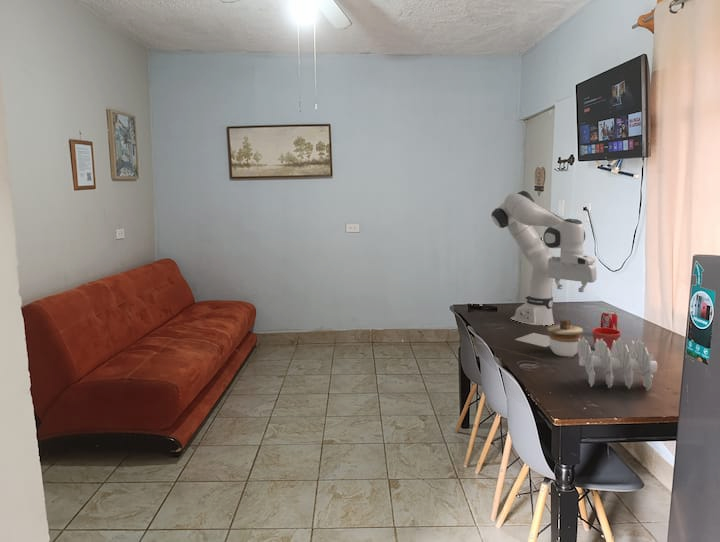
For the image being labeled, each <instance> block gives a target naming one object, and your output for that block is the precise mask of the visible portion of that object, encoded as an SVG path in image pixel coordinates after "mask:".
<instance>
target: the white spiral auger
mask: <svg viewBox="0 0 720 542" xmlns="http://www.w3.org/2000/svg"><path fill="white" fill-rule="evenodd" d="M577 350H578V352H577V354H578V363H579V364H578V365H579V366H580V367H585V373H586V374H587V375H588V384H589V385H590V388H592V387H593V386H594V385H595V379H596V373H595V368H603V375H605V384H606V385H607V389H610V388H612V387H613V382H614V377H615V376H614V374H613V370H614V369H615V370H622V371H623V373H622V374H623V378H624V379H623V380H625V381H624V382H625V383H624V384H625V387H627V389H631V387H632V385H633V384H634V382H633V381H634V375H635V372H634V371H636V372H641V380H642V381H643V383H642V385H643V386H642V387H645V388H646V389H645V390H646V391H649V390H650V388H651V387H652V383H653V381H654V376H653V373H657V371H658V362H657V360H655V359H654V358H655V356H654V355H655V353H651V352H650V353H649V350H648V348H647V346H645V343H644V342H642V341H640V338H637V339H636V340H635V341H634V340H631V343H630V346H629V348H628V345H627V344H626V341H624V340H622V339H621V337H620V338H618V339H617V341H616V342H615V340H613V344H612V348H611V350H609V348H607V344H606V343H605V342H604V341H603V338H601V339H600V340H599V341H598V339H596V342H595V345H594V350H593V349H591V345H589V342H588V340H587V339H585V336H582V337H581V341H580V338H579V339H578V343H577Z"/></svg>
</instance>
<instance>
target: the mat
mask: <svg viewBox="0 0 720 542" xmlns="http://www.w3.org/2000/svg"><path fill="white" fill-rule="evenodd" d="M549 338H550V337H549V335H545V334H540V333H537V332H532V333H529V334H526V335H523V336H521V337H517V338H515V339H514V340H515V341H518V342H522V343H523V342H524V343H527V344H531V345H534V346H538V347H543V348H547V347H550V342H549Z"/></svg>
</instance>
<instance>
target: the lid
mask: <svg viewBox="0 0 720 542" xmlns="http://www.w3.org/2000/svg"><path fill="white" fill-rule="evenodd" d="M571 322H572V321H571V320H570V319H566V318H564V319H560V321H559V324H553V325H548V326H546V327H547V331H549V333H551V332H553V333H557V334H563V335H578V334H579V335H581V334H583V333H584V330H583V328H582V327H579V326H576V325H571Z"/></svg>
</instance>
